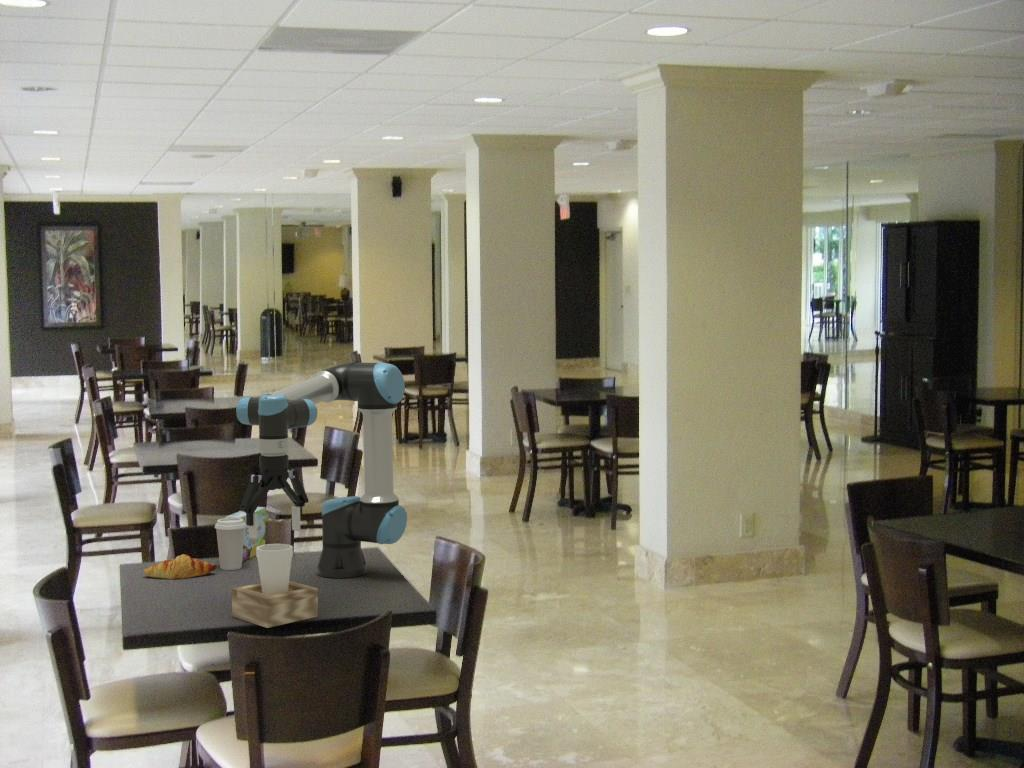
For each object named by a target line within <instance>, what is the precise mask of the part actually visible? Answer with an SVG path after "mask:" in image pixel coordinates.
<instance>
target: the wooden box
mask: <svg viewBox="0 0 1024 768" xmlns="http://www.w3.org/2000/svg"><path fill="white" fill-rule="evenodd" d="M318 591H319V589H318V588H317V587H313V586H311V585H310V586H309V585H306V584H303V583H299V582H295V581H292V580H289V586H288V592H285V593H280V594H275V595H271V596H268V595H265V594H262V587H261V582H260V583H254V584H253V583H252V584H249V585H243V586H238V587H233V588H231V615H232V616H231V617H233V618H236V619H238V620H242V621H245V622H247V623H250V624H254V625H257V626H260V627H263V628H267V629H269V628H275V627H279V626H283V625H286V624H291V623H296V622H299V621H304V620H308V619H312V618H313V619H314V618H318V617H319V595H318V593H319V592H318Z"/></svg>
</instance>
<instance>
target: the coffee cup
mask: <svg viewBox="0 0 1024 768" xmlns="http://www.w3.org/2000/svg"><path fill="white" fill-rule="evenodd" d="M245 527H246V524H245V522H244V520H243V519H241V518H225V517H224V518H219V519H217V520H216V523H215V525H214V529H215V530H216V539H217V549H218V558H219V568H220V570H223V571H236V570H240V569H242V566H243V565H242V564H243V562H242V556H243V542H244V529H245Z"/></svg>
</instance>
